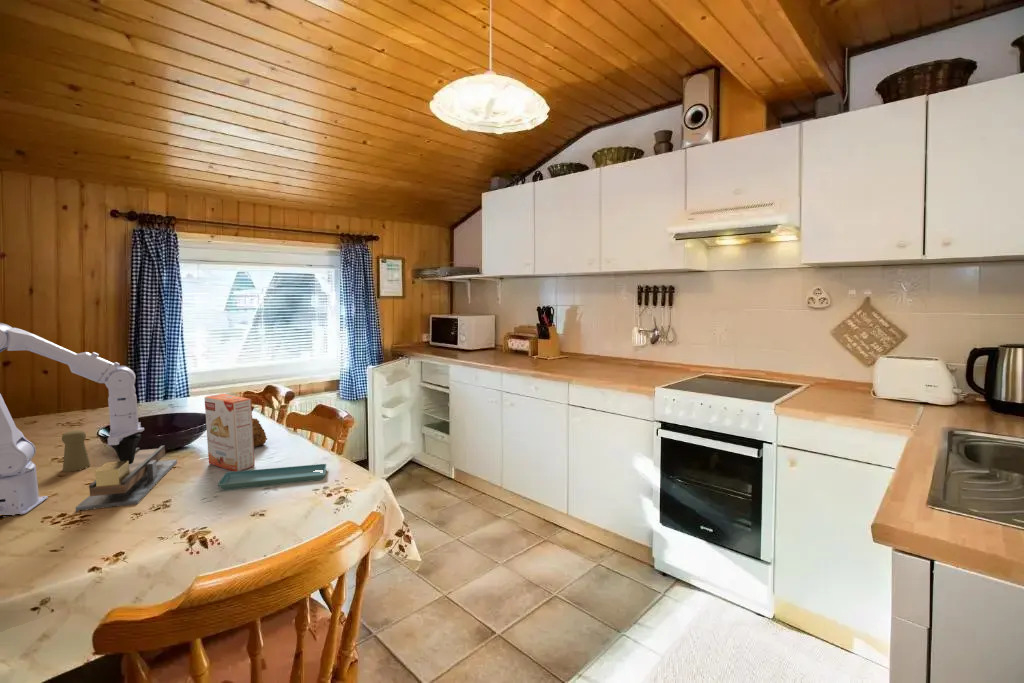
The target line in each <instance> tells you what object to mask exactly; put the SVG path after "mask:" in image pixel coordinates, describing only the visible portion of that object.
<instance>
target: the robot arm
mask: <svg viewBox="0 0 1024 683" xmlns="http://www.w3.org/2000/svg"><path fill="white" fill-rule="evenodd" d="M5 350H6V351H8V352H9V351H10V352H13V351H28V352H31V353H34V354H37V355H40V356H42V357H46V358H48V359H51V360H53V361H57V362H60V363H62V364H65V365H67V366H68V367H69V370H70V372H71V373H72V374H75V375H78V376H81V377H83V378H86V379H87V380H90V381H93V382H95V383H98V384H105V387H106V388H107V389H108V397H107V401H108V402H107V403H108V414H109V428H110V431H109V436H108V437H107V446H111V447H112V448H113V450H114V451H115V453H116V455H117V457H118V460H119V461H128V462H129V464H132V463H133V461H134V457H135V452H136V448H138V445H139V441H140V440H141V438H142V434H141V433H142V432H143V431H145V427H142V425H141V421H140V422H139V415H138V414H139V412H138V400H137V394H136V387H135V385H136V373H135V372H134V371H133V369H131V368H129V366H127V365H120V364H121V363H119V362H116V361H115V362H111V361H109V360H107V359H106V358H102V357H100V356H99V355H100V354H99V353H98V352H95V351H92V353H90V352H88V351H84V352H83V351H82V352H79V353H76V352H74V351H72V350H70V349H67V348H65V347H63V346H60V345H58V344H56V343H54V342H52V341H50V340H47V339H45V338H44V337H41V336H39V335H37V334H34V333H32V332H29V331H27V330H24V329H21V328H18V327H12V326H11V325H9V324H6V323H3V322H0V353H2V352H3V351H5ZM15 423H16V422H14V419H13V418H12V415H11V413H10V411H9V409H8V406H7V405H6V403H5V400H4V398H3V395H2V394H1V393H0V515H12V516H16V515H15V514H20V515H25V514H27V513H28V512H30V511H32V510H33V509H34V508H36V507H37V506H39V505H40V504H41V503H43V502H44V501H45V500H47V499H48V498H49V496H48V495H44V496H39V487H38V486H39V485H38V476H37V466H36V464H35V463H34V462H33V461H32V459H33V457H34V456H35V455H36V446H35V444H34V443H33V442H31V441H30V440H29V439H27V438H26V437H25V435H24V433H23V432H22V431H21V430H20V429H19V428H18V427H17V426H16V424H15Z"/></svg>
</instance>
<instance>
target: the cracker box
mask: <svg viewBox="0 0 1024 683" xmlns="http://www.w3.org/2000/svg"><path fill="white" fill-rule="evenodd" d="M251 406H252V399H251V398H249V397H248V398H247V397H242V396H237V395H233V394H232V395H231V394H226V393H218V394H213V395H208V396H205V397H204V408H205V409H204V410H205V411H204V412H205V423H206V438H207V439H206V441H207V456H208V464H209V465H213V466H216V467H219V468H222V469H225V470H229V471H230V472H234V471H246V470H249V469H250V468H254V467H255V450H254V448H255V447H254V445H253V426H252V418H253V411H252V407H251Z"/></svg>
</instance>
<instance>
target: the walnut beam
mask: <svg viewBox="0 0 1024 683" xmlns="http://www.w3.org/2000/svg"><path fill="white" fill-rule="evenodd" d="M165 455H166V446H165V445H160V446H159V447H158V448H152V449H151V448H149V449H140V447H136V452H135V457H134V461H133V463H132V464H129V475H128V476H127V477H126V478H125V479H124V480H123V481H121V484H120V485H113V486H103V487H96V479H95V480H94V481H92V482H91V483H90V484H89V485H88V487H89V488H88V489H89V496H90V497H91V496H100V495H109V494H118V493H126V492H127V491H128V490H129V489H130V488H131V487H132V486H133V485H134V484H135V483H136V482H137V481H138V480H139V479H140V478H141V477H142V476H143V475H145V474H146V473H147V464H148V463H149V462H150V461H153V460H156V462H158V461H161V460H162V459H163V457H164V456H165Z"/></svg>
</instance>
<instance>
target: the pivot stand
mask: <svg viewBox="0 0 1024 683" xmlns="http://www.w3.org/2000/svg"><path fill="white" fill-rule="evenodd" d="M177 463H178V459H166V460H159V461H158V462H156V460H153V461H150V462H149V463H148V464H147V473H146V474H145V475H143V476H142V477H141V478H140V479H139V480H138V481H137V482H136V483H135V484H134V485H133V486H132V487H131V488H130V489H129V490H128V491H127V492H126V493H118V494H109V495H100V496H91V497H90V495H89V496H87V497H86V498H85V499H84V500H83V501H81V502H80V503H78V504H77V505H76V506H75V512H79V511H78V510H83V511H87V510H86V509H91V510H95V509H94V508H100V509H103V508H102V507H108V508H115V507H114V506H117V507H124V505H126V506H132V505H133V504H134V505H138V504H139V503H140V502H141V501H142V500H143V499H144V498H145V497H144V496H146V495H148V494H149V493H150V492H151V490H152V489H153V488H154V487H155V486H156V485H157V484H158V483H159V482H160V481H161V480H162V479H163V478H164V477H163V476H164V475H165V474H166V475H167V474H168V473H169V471H171V470H172V468H173V467H174V466H175V465H176V464H177ZM166 475H165V476H166ZM162 477H163V478H162ZM161 478H162V479H161ZM160 479H161V480H160ZM159 480H160V481H159ZM158 481H159V482H158ZM157 482H158V483H157ZM156 483H157V484H156ZM155 484H156V485H155ZM154 485H155V486H154ZM153 486H154V487H153ZM152 487H153V488H152ZM150 489H151V490H150ZM143 497H144V498H143ZM142 498H143V499H142ZM141 499H142V500H141ZM140 500H141V501H140ZM139 501H140V502H139ZM112 506H113V507H112Z"/></svg>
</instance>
